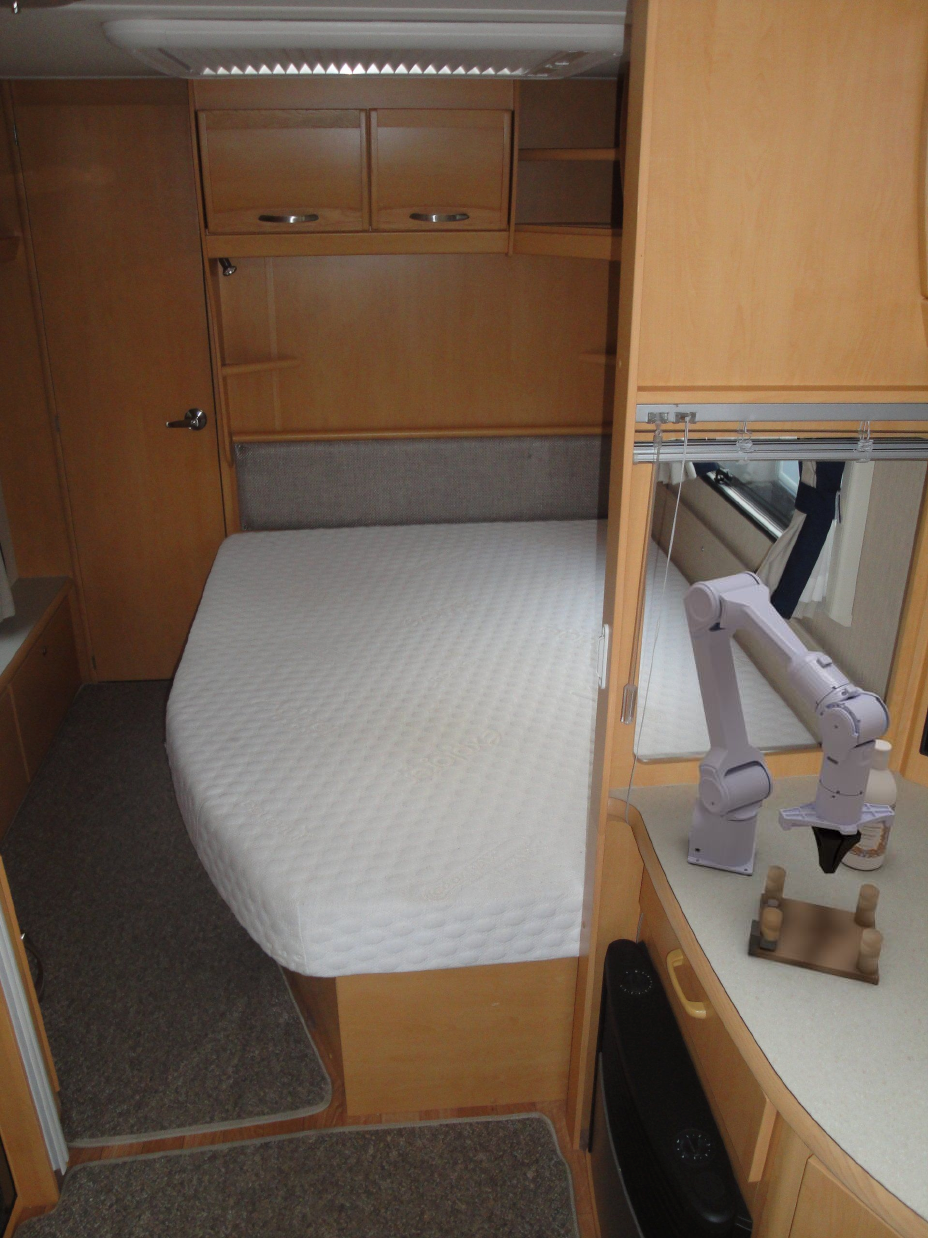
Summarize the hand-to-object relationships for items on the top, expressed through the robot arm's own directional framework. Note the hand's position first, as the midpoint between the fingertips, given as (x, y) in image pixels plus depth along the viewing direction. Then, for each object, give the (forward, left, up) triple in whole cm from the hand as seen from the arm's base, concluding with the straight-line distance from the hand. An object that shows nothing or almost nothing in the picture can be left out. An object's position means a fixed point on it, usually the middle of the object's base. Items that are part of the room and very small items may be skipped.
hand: (826, 869), depth 124 cm
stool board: (0, -3, -10) cm, 10 cm away
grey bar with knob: (-6, -4, -9) cm, 11 cm away
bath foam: (+6, +18, -10) cm, 21 cm away
